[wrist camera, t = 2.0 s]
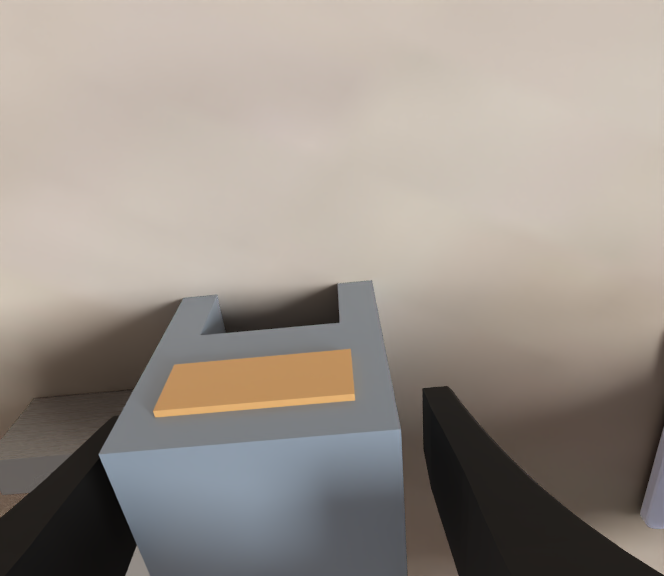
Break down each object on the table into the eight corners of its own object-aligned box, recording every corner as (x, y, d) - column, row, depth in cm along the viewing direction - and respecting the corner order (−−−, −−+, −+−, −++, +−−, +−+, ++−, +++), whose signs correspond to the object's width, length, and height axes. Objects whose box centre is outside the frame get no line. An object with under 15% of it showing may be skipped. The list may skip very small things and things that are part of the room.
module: (371, 274, 13) (400, 422, 8) (383, 449, 16) (410, 637, 11) (182, 292, 13) (95, 448, 8) (227, 462, 16) (183, 653, 11)
